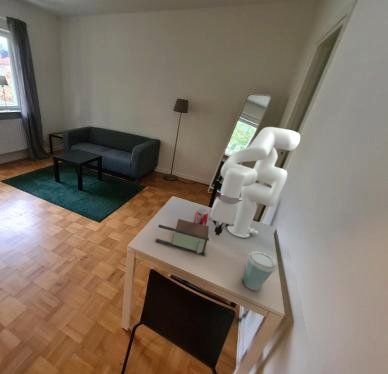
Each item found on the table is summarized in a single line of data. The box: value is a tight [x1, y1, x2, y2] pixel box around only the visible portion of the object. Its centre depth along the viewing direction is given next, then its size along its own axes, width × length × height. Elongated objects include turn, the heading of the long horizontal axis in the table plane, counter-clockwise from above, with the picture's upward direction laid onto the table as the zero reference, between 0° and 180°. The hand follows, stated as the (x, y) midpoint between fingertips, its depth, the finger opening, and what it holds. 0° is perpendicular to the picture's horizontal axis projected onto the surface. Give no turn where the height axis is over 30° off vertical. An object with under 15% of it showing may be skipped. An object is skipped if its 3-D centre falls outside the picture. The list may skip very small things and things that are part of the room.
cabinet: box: [155, 218, 210, 256], centre depth 112 cm, size 25×12×10 cm, turn 71°
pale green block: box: [171, 232, 205, 253], centre depth 105 cm, size 15×4×8 cm, turn 71°
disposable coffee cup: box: [242, 250, 278, 291], centre depth 89 cm, size 11×11×15 cm
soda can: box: [193, 208, 209, 226], centre depth 124 cm, size 7×7×12 cm
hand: (217, 233), depth 96 cm, fingers closed
